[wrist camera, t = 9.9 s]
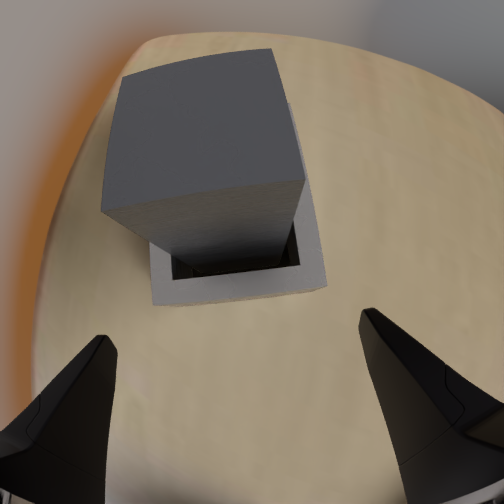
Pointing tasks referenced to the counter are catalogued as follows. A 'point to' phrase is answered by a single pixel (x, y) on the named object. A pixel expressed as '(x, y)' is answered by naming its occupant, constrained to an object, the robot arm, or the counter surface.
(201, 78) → the peg
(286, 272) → the block with rectangular hole
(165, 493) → the counter surface
